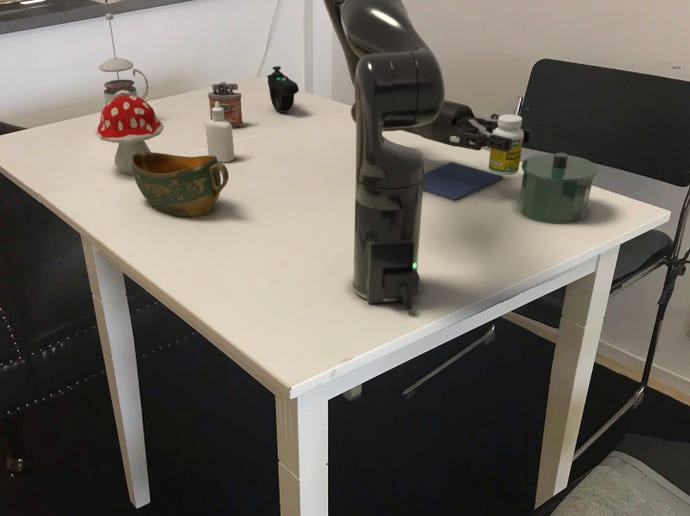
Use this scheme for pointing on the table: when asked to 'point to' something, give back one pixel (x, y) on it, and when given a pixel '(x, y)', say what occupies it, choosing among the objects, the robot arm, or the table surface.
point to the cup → (179, 182)
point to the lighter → (227, 102)
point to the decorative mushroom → (128, 128)
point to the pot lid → (559, 167)
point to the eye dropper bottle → (219, 136)
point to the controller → (281, 90)
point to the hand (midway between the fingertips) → (520, 141)
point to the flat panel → (457, 180)
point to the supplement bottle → (510, 160)
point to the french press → (118, 85)
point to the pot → (554, 199)
